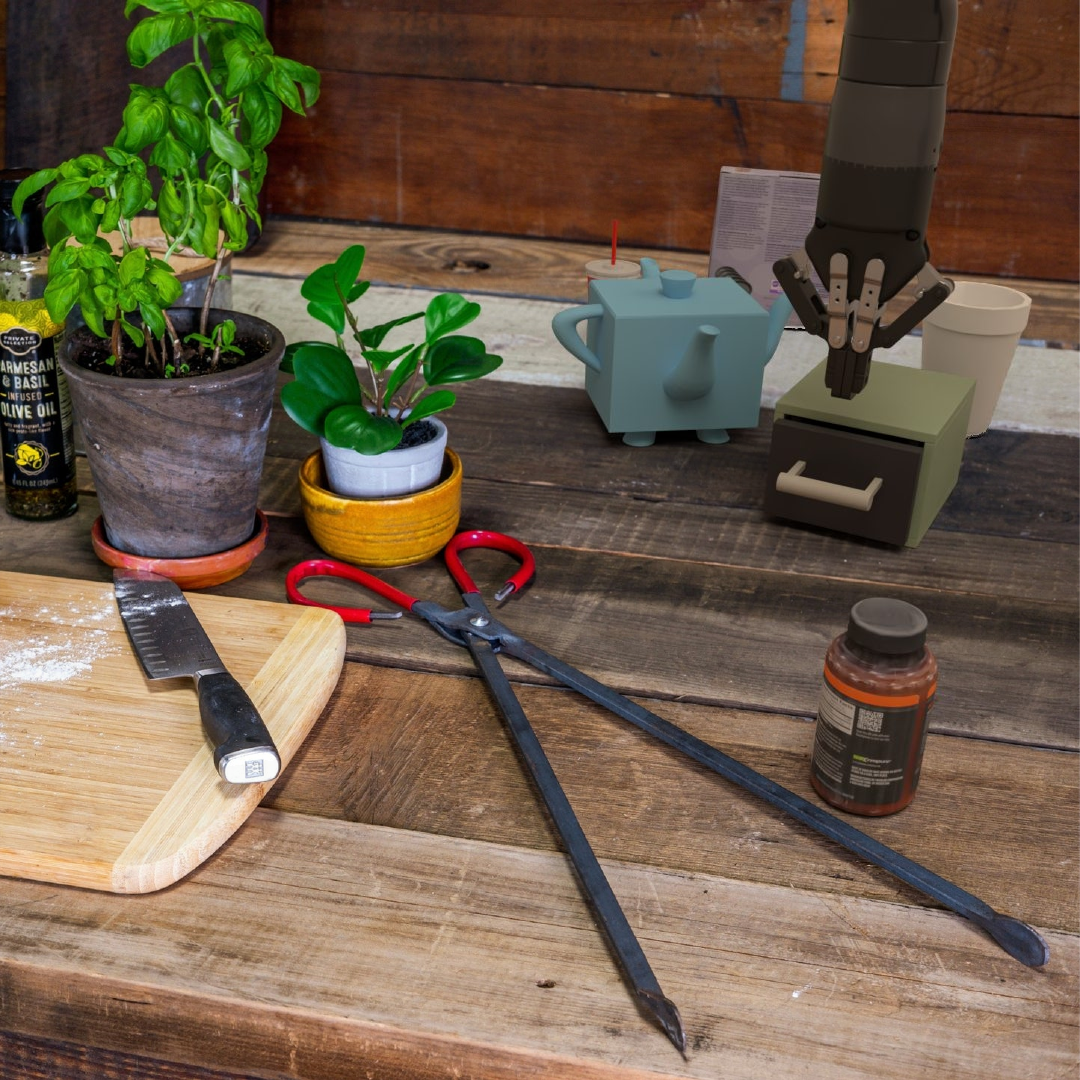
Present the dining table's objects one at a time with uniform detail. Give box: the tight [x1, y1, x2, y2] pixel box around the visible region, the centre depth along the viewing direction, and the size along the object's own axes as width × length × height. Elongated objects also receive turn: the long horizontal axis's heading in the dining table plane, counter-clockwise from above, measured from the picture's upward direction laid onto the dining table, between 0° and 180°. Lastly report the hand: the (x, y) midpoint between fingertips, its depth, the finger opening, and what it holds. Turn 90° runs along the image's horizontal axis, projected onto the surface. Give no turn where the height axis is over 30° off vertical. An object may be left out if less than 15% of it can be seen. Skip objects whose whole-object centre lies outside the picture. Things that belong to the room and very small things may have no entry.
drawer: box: [762, 416, 925, 547], centre depth 100 cm, size 18×11×8 cm, turn 151°
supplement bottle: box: [809, 596, 939, 817], centre depth 69 cm, size 6×6×11 cm
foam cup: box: [920, 280, 1033, 437], centre depth 119 cm, size 10×9×13 cm
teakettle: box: [551, 256, 819, 447], centre depth 117 cm, size 19×19×15 cm
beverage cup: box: [584, 219, 642, 298], centre depth 138 cm, size 6×6×14 cm
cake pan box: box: [707, 165, 860, 326], centre depth 146 cm, size 19×5×18 cm, turn 80°
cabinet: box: [763, 355, 977, 549], centre depth 104 cm, size 15×13×10 cm
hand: (844, 395), depth 92 cm, fingers closed
